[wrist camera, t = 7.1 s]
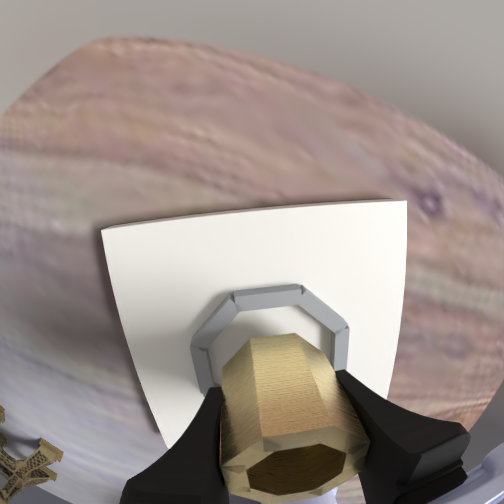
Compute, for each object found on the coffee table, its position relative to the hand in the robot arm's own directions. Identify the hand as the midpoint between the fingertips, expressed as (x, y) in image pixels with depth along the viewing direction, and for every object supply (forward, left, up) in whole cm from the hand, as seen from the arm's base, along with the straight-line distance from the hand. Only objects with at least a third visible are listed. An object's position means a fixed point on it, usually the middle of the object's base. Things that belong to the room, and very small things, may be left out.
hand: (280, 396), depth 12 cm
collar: (0, 0, -1) cm, 1 cm away
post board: (0, 0, -5) cm, 5 cm away
